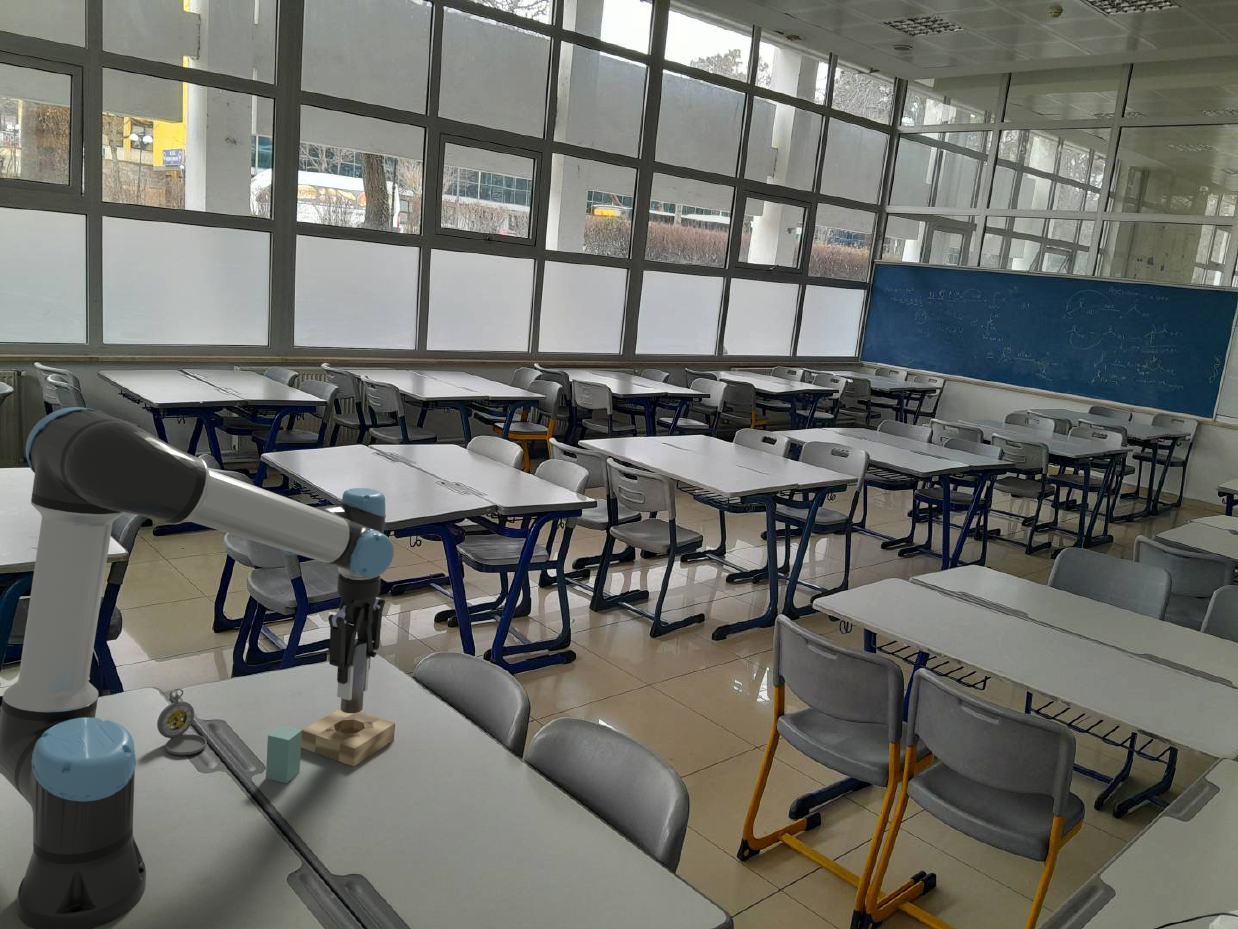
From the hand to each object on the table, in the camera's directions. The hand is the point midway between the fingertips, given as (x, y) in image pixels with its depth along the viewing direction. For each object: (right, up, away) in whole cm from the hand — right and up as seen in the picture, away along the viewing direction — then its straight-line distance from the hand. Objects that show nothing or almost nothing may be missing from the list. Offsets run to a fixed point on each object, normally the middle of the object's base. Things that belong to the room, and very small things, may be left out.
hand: (352, 693), depth 172 cm
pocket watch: (-29, -8, -6) cm, 31 cm away
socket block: (-1, -10, +2) cm, 10 cm away
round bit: (0, -3, +1) cm, 3 cm away
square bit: (-9, -11, -11) cm, 18 cm away
